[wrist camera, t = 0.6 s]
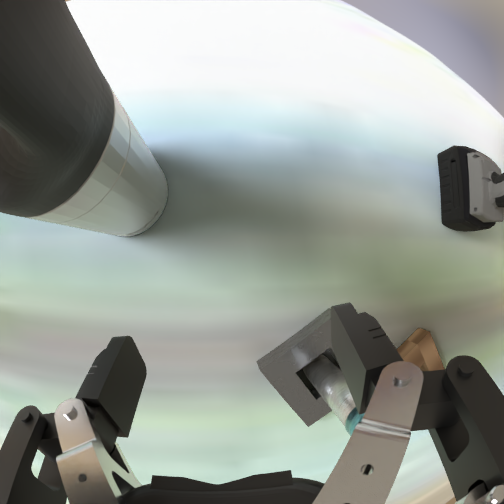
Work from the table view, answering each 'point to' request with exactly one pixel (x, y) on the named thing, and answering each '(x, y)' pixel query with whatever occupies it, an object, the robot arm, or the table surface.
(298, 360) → the grey flat square frame
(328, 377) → the clear test tube
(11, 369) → the table surface
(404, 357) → the rack block
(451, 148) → the cordless drill
